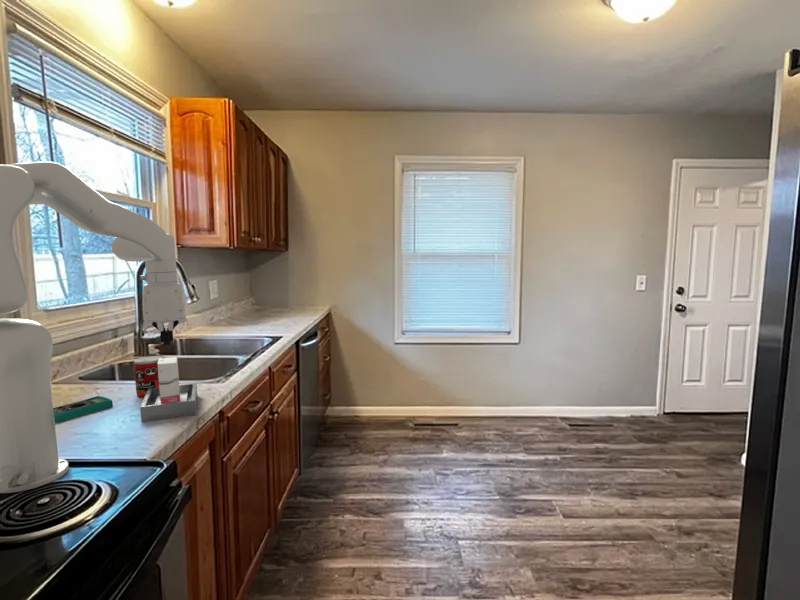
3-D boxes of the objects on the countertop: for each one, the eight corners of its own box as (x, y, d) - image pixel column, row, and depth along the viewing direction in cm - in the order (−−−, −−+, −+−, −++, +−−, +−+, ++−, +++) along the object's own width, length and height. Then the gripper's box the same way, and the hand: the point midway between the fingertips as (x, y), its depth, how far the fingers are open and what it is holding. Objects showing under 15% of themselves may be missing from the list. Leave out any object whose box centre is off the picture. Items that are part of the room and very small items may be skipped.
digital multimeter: (42, 420, 127) (41, 409, 126) (100, 403, 139) (99, 394, 139) (55, 425, 123) (54, 414, 122) (114, 408, 135) (113, 398, 135)
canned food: (130, 396, 144) (127, 361, 143) (150, 389, 152) (147, 355, 151) (151, 398, 142) (149, 362, 141) (170, 390, 150) (168, 356, 149)
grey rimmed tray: (195, 414, 127) (194, 400, 127) (141, 422, 122) (140, 407, 122) (197, 395, 144) (196, 383, 143) (149, 401, 139) (148, 388, 138)
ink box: (180, 404, 130) (177, 362, 128) (160, 407, 128) (156, 364, 126) (180, 395, 138) (177, 356, 136) (161, 398, 136) (158, 357, 134)
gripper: (128, 280, 123) (135, 350, 125) (191, 278, 128) (196, 344, 130) (133, 279, 130) (138, 344, 132) (192, 276, 135) (196, 339, 137)
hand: (167, 344), depth 131 cm, fingers closed
